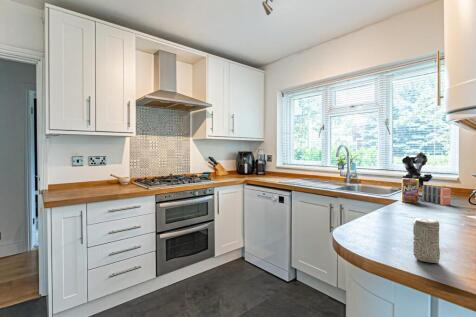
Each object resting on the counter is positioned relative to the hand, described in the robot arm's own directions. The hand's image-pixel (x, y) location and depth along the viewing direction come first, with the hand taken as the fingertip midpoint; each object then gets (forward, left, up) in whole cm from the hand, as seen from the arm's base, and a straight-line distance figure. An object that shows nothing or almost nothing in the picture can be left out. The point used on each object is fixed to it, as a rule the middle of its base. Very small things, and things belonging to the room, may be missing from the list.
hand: (422, 187), depth 171 cm
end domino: (+17, +7, -8) cm, 20 cm away
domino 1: (+3, +2, -8) cm, 9 cm away
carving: (+118, -34, -8) cm, 123 cm away
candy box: (+15, -11, -8) cm, 21 cm away
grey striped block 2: (+7, +3, -8) cm, 11 cm away
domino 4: (+14, +5, -8) cm, 17 cm away
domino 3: (+10, +4, -8) cm, 14 cm away
